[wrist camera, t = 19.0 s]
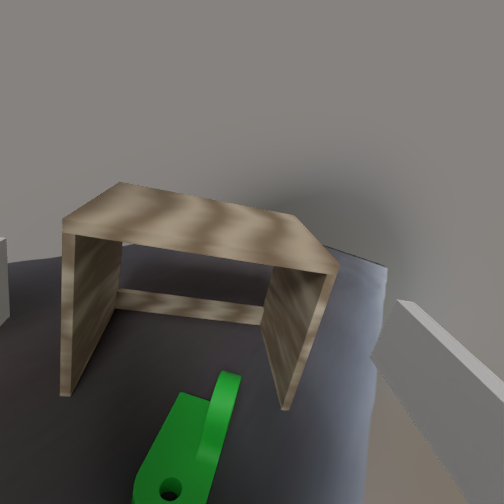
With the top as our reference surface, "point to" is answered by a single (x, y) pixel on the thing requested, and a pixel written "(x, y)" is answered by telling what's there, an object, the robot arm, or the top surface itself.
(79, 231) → the cubby box
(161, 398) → the top surface
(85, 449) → the top surface
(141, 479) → the mechanical part
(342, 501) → the top surface
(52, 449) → the top surface
